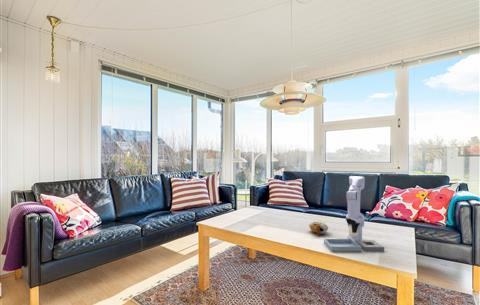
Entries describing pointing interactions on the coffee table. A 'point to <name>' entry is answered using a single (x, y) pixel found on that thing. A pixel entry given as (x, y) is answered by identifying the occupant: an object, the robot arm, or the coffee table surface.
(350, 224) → the fuse
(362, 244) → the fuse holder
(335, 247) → the tray
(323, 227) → the nautilus
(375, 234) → the coffee table surface
